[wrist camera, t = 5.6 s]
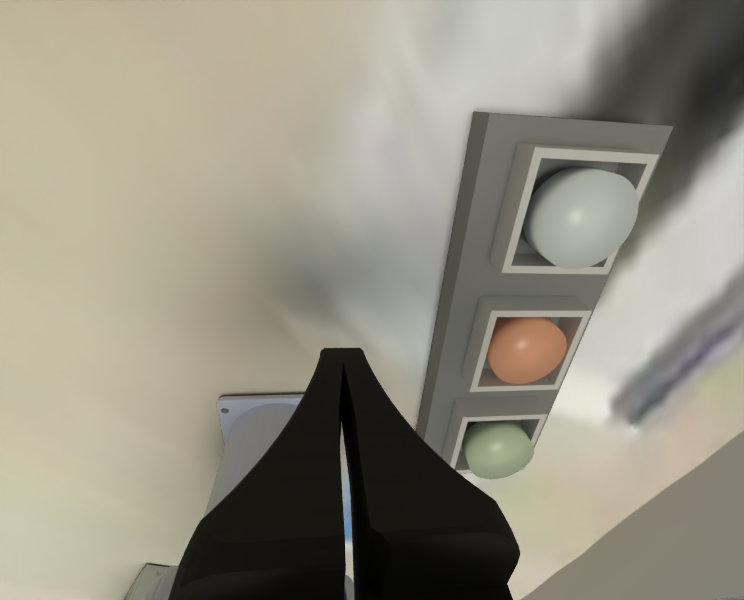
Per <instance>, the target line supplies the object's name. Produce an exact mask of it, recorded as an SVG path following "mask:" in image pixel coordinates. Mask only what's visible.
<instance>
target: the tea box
mask: <svg viewBox="0 0 744 600" xmlns="http://www.w3.org/2000/svg"><path fill="white" fill-rule="evenodd" d="M168 568H169V567H163V566H155V565H146V567H145V568H144V569H143V570H142V572H141V573H140V574H139V576H138V577H137V579H136V580H135V582H134V584H133V585H132V587H131V589H130V590H129V592H128V593H127V595H126V597H125V598H124V600H144V598H145V596H146V594H147V592H148V590H149V588H150V586H151V584H152V583H153V582H154V581H155V580H156V579H157V578H158V577H160V576H161V575H162V574H164V573H165V572H166V570H167V569H168Z"/></svg>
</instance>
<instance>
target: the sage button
mask: <svg viewBox="0 0 744 600" xmlns="http://www.w3.org/2000/svg"><path fill="white" fill-rule="evenodd" d="M461 445H462V449H463V452H464V454H465V457H466V460H467V462H468V465H469V468H470V470H471V471H472V473H473V474H475V475H476V476H478V477H481V478H485V479H498V478H503V477H507V476H510V475H512V474H514V473H516V472H518V471H520V470H521V469H523V468H524V467H525V466H526V465H527V464H528V463H529V462H530V460H531V459H532V457H533V454H534V447H533V445H532V443H531V441H530V440H529V438H528V436H527V435H526V433H525V431H524V429H523V428H522V426H521V424H520V423H519V422H518V421H517V420H497V421H480V422H478V423H476V424H475V425H473V426H472V427H471V428H469V429H468V430H467V432H466V433H465V434H464V437H463V440H462V444H461Z"/></svg>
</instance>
